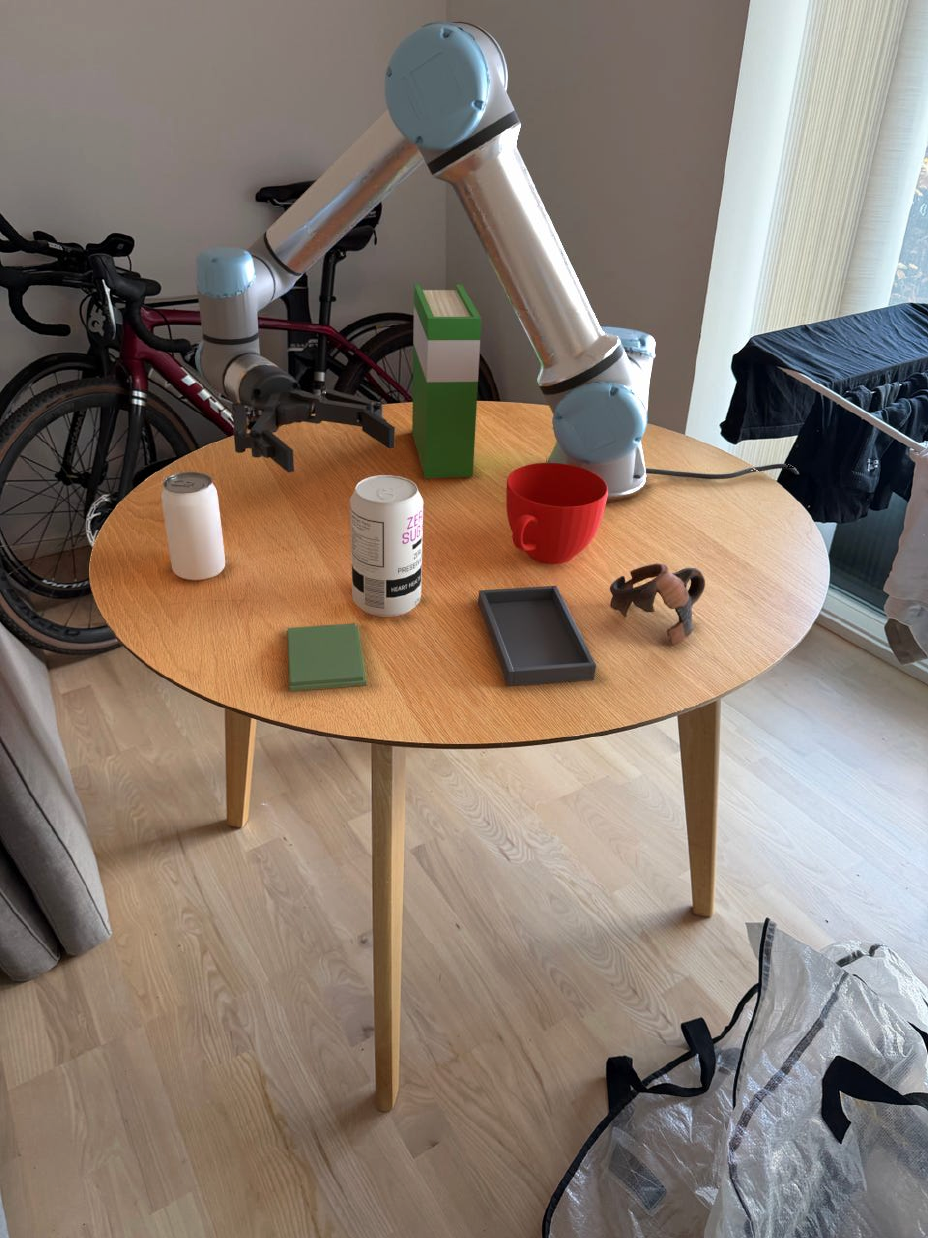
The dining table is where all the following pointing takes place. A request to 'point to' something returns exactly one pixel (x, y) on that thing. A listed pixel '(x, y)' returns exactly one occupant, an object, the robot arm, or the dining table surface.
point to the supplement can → (386, 545)
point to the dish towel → (325, 657)
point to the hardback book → (445, 381)
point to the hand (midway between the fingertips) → (343, 449)
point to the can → (193, 526)
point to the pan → (535, 636)
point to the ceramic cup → (554, 510)
